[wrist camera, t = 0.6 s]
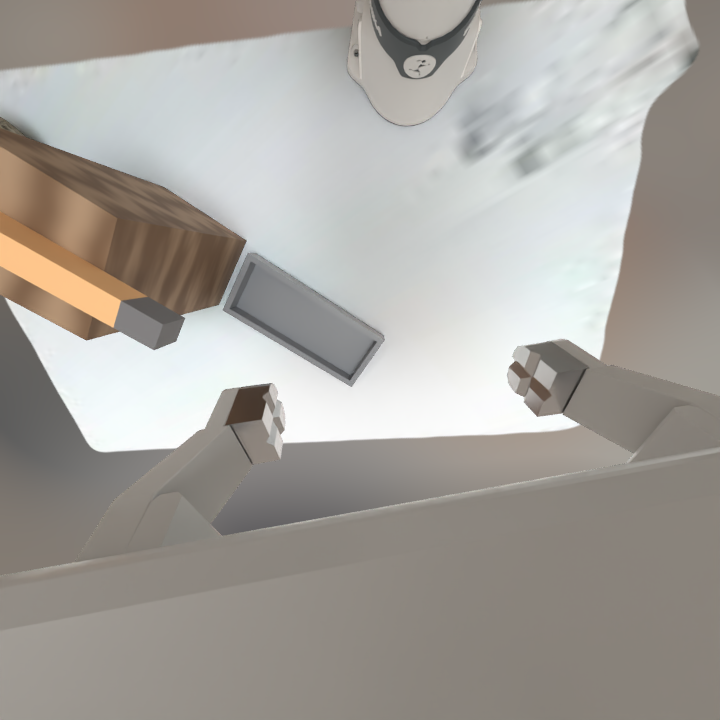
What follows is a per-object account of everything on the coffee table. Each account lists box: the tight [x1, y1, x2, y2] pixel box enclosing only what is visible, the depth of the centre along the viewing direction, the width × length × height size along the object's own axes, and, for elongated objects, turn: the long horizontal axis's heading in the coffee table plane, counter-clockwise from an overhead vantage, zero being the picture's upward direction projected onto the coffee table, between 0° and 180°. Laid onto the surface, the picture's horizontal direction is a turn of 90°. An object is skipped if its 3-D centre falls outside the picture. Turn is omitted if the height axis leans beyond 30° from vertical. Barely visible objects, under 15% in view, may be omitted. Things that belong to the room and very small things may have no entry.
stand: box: [0, 128, 246, 340], centre depth 37 cm, size 16×14×26 cm
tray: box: [223, 253, 384, 387], centre depth 51 cm, size 29×12×4 cm, turn 57°
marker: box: [0, 212, 185, 350], centre depth 24 cm, size 22×3×3 cm, turn 57°
